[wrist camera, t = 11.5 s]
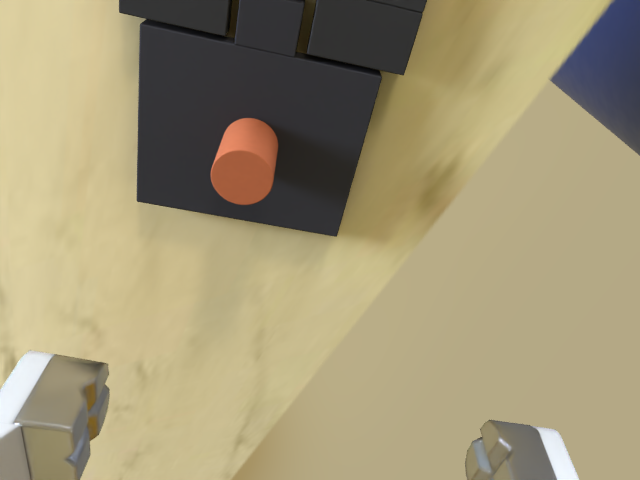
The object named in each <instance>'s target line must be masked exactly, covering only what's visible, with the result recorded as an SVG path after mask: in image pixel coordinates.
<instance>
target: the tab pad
mask: <svg viewBox="0 0 640 480" xmlns="http://www.w3.org/2000/svg"><path fill="white" fill-rule="evenodd" d="M304 5H305V0H240V1H239V9H238V17H237V26H236V34H235V38H231V37H227V36H222V35H218V34H213V33H208V32H204V31H199V30H195V29H190V28H186V27H181V26H177V25H172V24H168V23H163V22H159V21H154V20H150V19H146V20H145V21H144V22H142V23H141V24H140V52H139V106H138V159H137V201H138V202H143V203H149V204H154V205H160V206H166V207H171V208H177V209H183V210H188V211H194V212H200V213H205V214H211V215H217V216H222V217H228V218H234V219H239V220H245V221H251V222H256V223H262V224H268V225H273V226H279V227H285V228H290V229H296V230H302V231H307V232H313V233H319V234H324V235H330V236H337V234H338V230H339V227H340V223H341V220H342V216H343V213H344V209H345V206H346V202H347V199H348V195H349V192H350V188H351V185H352V181H353V178H354V174H355V171H356V167H357V164H358V160H359V157H360V153H361V150H362V146H363V143H364V139H365V136H366V132H367V129H368V125H369V122H370V118H371V115H372V111H373V108H374V104H375V101H376V97H377V94H378V90H379V87H380V83H381V80H382V76H381V73H380V71H379V70H376V69H371V68H367V67H362V66H358V65H353V64H349V63H344V62H340V61H335V60H331V59H326V58H322V57H317V56H313V55H308V54H303V53H299V52H296V49H297V43H298V38H299V32H300V27H301V22H302V16H303V11H304Z"/></svg>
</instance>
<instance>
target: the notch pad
mask: <svg viewBox="0 0 640 480" xmlns="http://www.w3.org/2000/svg"><path fill="white" fill-rule="evenodd" d="M426 2H427V0H316V6H315V11H314V16H313V21H312V26H311V31H310V36H309V41H308V46H307V54H309V55H314V56H318V57H323V58H327V59H332V60H336V61H341V62H345V63H350V64H354V65H359V66H363V67H368V68H372V69H377V70H381V71H386V72H390V73H395V74H399V75H404V73H405V70H406V67H407V63H408V60H409V57H410V54H411V50H412V47H413V44H414V41H415V38H416V34H417V31H418V28H419V25H420V21H421V18H422V12H423V11H424V8H425V5H426ZM231 6H232V0H119V12H120V13H123V14H128V15H132V16H137V17H141V18H146V19H150V20H155V21H159V22H164V23H168V24H173V25H177V26H182V27H186V28H191V29H195V30H200V31H205V32H209V33H214V34H218V35H223V36H225V35H226V34H227V32H228V30H229V24H230V15H231Z"/></svg>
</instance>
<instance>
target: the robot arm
mask: <svg viewBox="0 0 640 480" xmlns="http://www.w3.org/2000/svg"><path fill="white" fill-rule="evenodd" d="M108 375H109V369H108V364H107V363H102V362H96V361H91V360H85V359H79V358H74V357H68V356H62V355H57V354H50V353H44V352H38V351H32V350H29V351H28V352H27V353H26V354H25V355H24V356H22V358H21V359H20V361H19V362H18V364H17V365H16V367H15V368H14V370H13V371H12V373H11V374H10V376H9V377H8V379H7V380H6V382H5V384H4V385H3V387H2V388H1V390H0V480H80V478H81V476H82V473H83V471H84V469H85V466H86V464H87V462H88V459H89V457H90V441H91V440H92V439H94V438H95V437H96V436H98V435H99V433H100V431H101V428H102V426H103V423H104V420H105V417H106V413H107V409H108V404H109V388H108V387H107V386H106V385H105V382H106V380H107V378H108ZM480 430H481V434H482V437H480V438H478V439H477V440H474V441H473V442H472V443H471V445H470V447H469V449H468V450H467V455H466V461H465V467H466V476H467V480H579V477H578V475H577V473H576V470H575V468H574V466H573V463H572V461H571V459H570V457H569V454H568V452H567V449H566V447H565V445H564V442H563V440H562V438H561V436H560V434H559V433H558V432H557V431H556V430H554V429H548V428H541V427H534V426H530V425H524V424H517V423H509V422H502V421H495V420H489V421H487V422H485V423H484V425H483V426H482V427H481V429H480Z"/></svg>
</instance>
